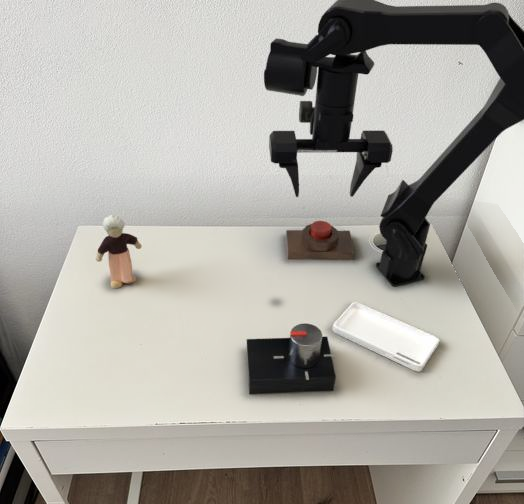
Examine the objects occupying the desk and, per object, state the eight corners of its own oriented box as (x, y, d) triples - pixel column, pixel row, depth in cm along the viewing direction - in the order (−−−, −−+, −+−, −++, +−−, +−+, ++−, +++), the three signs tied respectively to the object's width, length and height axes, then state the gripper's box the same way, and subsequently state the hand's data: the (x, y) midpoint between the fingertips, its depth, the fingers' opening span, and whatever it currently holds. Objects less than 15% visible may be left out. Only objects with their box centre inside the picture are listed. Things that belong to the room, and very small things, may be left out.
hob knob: (316, 345, 78) (320, 321, 75) (321, 367, 75) (324, 343, 72) (286, 346, 78) (288, 322, 74) (290, 368, 75) (292, 344, 71)
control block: (348, 238, 102) (351, 222, 100) (353, 260, 97) (356, 244, 95) (285, 237, 102) (286, 221, 99) (287, 259, 97) (288, 243, 95)
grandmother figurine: (111, 295, 89) (96, 230, 80) (100, 284, 91) (83, 219, 82) (150, 276, 93) (140, 212, 84) (138, 266, 95) (127, 202, 86)
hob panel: (326, 348, 82) (329, 334, 80) (335, 392, 76) (338, 377, 74) (246, 351, 81) (246, 336, 79) (249, 395, 75) (249, 381, 73)
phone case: (438, 344, 83) (353, 306, 89) (441, 338, 82) (354, 300, 88) (419, 373, 79) (330, 331, 84) (421, 367, 78) (331, 325, 83)
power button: (329, 228, 99) (330, 220, 98) (331, 240, 96) (332, 231, 95) (309, 228, 99) (310, 220, 97) (311, 240, 96) (312, 231, 95)
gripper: (386, 79, 85) (369, 171, 96) (268, 79, 84) (265, 172, 95) (402, 108, 77) (382, 204, 88) (273, 108, 76) (269, 206, 87)
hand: (324, 195), depth 90 cm, fingers open, 9 cm apart
